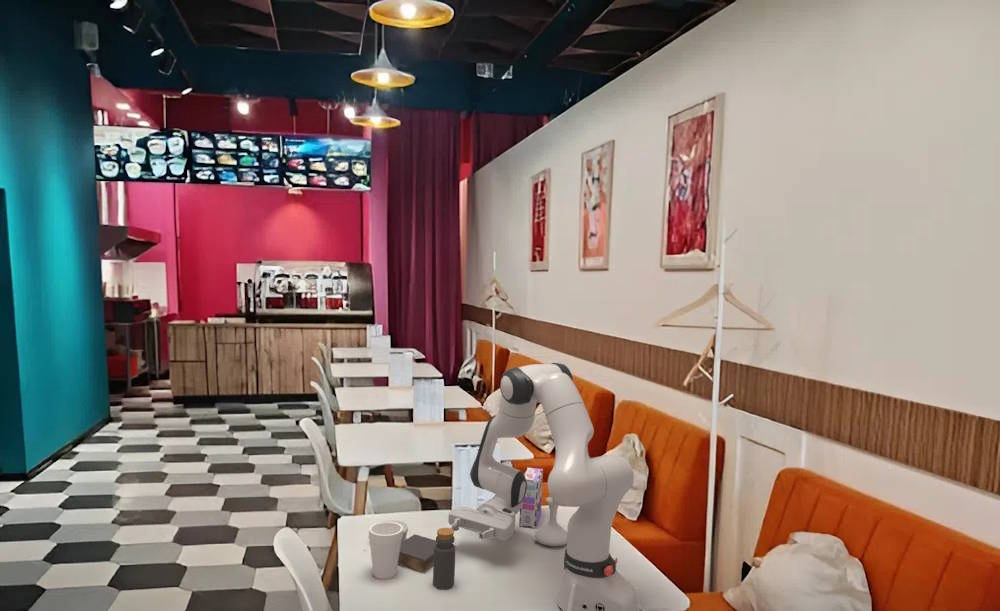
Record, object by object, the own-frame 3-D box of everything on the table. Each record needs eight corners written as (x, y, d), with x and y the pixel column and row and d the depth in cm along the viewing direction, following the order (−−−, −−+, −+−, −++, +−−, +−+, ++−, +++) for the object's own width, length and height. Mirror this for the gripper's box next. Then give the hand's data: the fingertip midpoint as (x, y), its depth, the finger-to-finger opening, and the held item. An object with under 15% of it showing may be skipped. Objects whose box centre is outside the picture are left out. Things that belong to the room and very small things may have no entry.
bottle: (428, 585, 173) (430, 532, 172) (440, 576, 179) (442, 524, 178) (446, 591, 171) (448, 537, 170) (458, 582, 176) (460, 529, 175)
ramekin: (374, 535, 204) (374, 519, 203) (409, 535, 204) (409, 519, 204) (368, 551, 193) (369, 534, 192) (405, 551, 193) (406, 535, 193)
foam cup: (368, 583, 174) (370, 536, 173) (366, 567, 182) (367, 523, 182) (403, 579, 176) (405, 534, 175) (399, 564, 185) (401, 520, 184)
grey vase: (568, 551, 198) (572, 472, 196) (532, 547, 199) (535, 469, 198) (570, 534, 211) (574, 460, 209) (536, 530, 212) (539, 457, 211)
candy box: (535, 529, 214) (538, 481, 212) (518, 526, 215) (520, 479, 214) (541, 513, 227) (543, 468, 226) (525, 511, 228) (527, 466, 227)
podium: (446, 556, 191) (447, 543, 191) (423, 573, 180) (424, 559, 180) (414, 546, 196) (414, 534, 196) (389, 562, 186) (390, 548, 186)
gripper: (462, 498, 202) (437, 513, 190) (520, 513, 192) (498, 530, 180) (461, 517, 202) (437, 533, 190) (518, 534, 193) (497, 551, 180)
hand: (467, 532), depth 185 cm, fingers open, 8 cm apart
